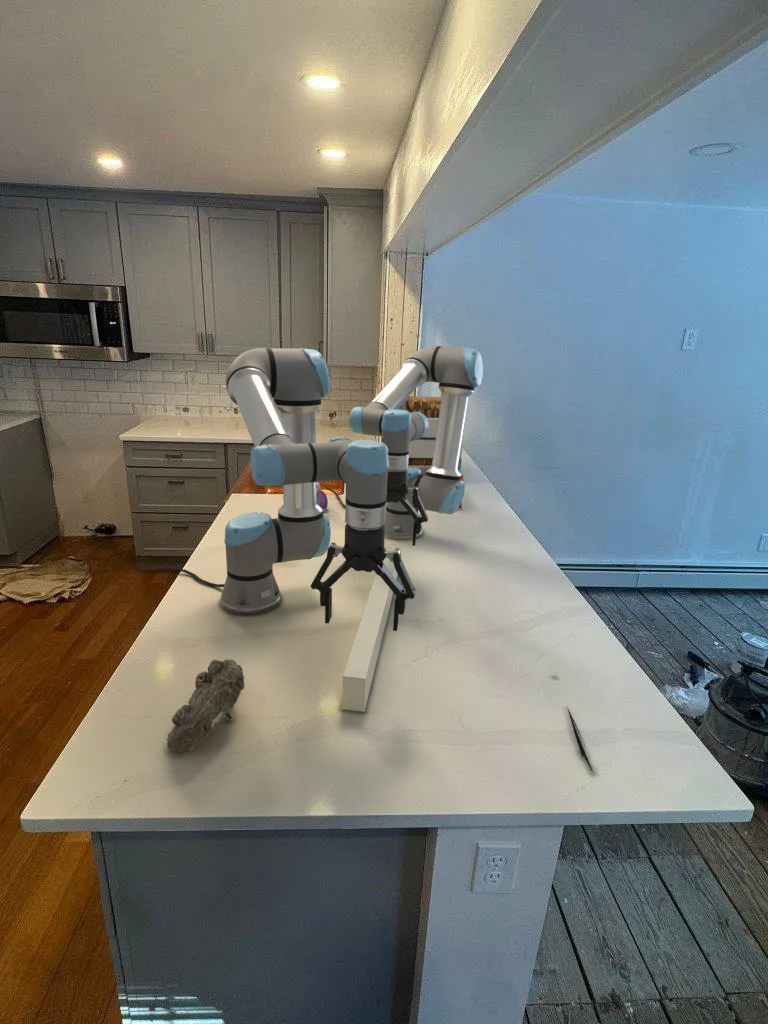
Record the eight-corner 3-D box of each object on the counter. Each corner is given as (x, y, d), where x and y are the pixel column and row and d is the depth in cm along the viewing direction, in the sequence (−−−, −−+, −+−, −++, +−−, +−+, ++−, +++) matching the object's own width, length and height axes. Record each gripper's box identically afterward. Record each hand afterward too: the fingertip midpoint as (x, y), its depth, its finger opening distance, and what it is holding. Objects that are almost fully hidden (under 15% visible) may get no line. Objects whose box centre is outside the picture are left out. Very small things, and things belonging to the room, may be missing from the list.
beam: (383, 572, 170) (384, 548, 168) (398, 573, 170) (399, 549, 167) (342, 709, 112) (342, 675, 109) (364, 712, 111) (365, 678, 109)
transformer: (382, 463, 289) (386, 382, 275) (445, 464, 293) (451, 384, 279) (390, 482, 257) (394, 392, 243) (460, 483, 261) (468, 394, 247)
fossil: (192, 660, 117) (244, 628, 112) (224, 691, 120) (276, 661, 115) (142, 746, 98) (202, 712, 93) (182, 779, 101) (242, 748, 96)
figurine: (309, 516, 212) (309, 477, 207) (300, 507, 221) (300, 470, 216) (333, 513, 216) (333, 475, 211) (323, 504, 225) (323, 468, 220)
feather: (555, 681, 125) (561, 675, 124) (592, 776, 98) (600, 769, 98) (549, 677, 125) (554, 671, 124) (584, 771, 98) (592, 764, 98)
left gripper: (294, 525, 103) (295, 626, 111) (431, 537, 101) (423, 640, 108) (305, 511, 110) (305, 608, 118) (433, 522, 108) (425, 620, 115)
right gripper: (345, 468, 150) (343, 542, 157) (439, 475, 147) (433, 551, 154) (350, 461, 157) (348, 532, 164) (440, 468, 154) (434, 540, 161)
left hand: (361, 623), depth 113 cm, fingers open, 13 cm apart
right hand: (389, 541), depth 159 cm, fingers open, 13 cm apart
